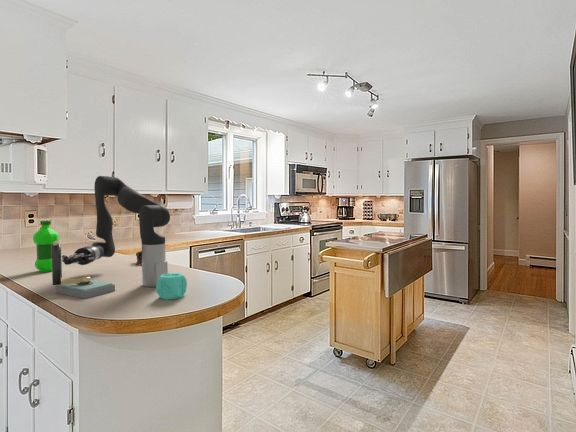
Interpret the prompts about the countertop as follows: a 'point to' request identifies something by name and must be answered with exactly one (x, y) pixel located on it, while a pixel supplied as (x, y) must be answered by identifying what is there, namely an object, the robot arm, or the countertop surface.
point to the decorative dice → (171, 286)
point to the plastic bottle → (44, 246)
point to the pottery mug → (139, 257)
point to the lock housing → (85, 289)
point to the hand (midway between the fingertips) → (66, 262)
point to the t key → (58, 268)
